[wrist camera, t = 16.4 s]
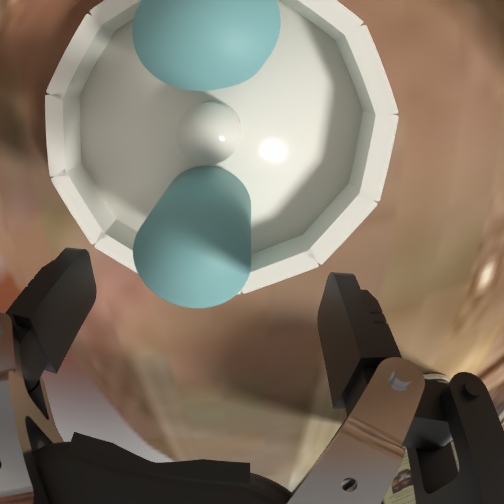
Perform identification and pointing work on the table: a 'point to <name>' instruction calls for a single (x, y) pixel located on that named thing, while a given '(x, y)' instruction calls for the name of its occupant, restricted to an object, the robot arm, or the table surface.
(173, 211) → the bead
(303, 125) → the ring tray
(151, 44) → the bead
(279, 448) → the table surface
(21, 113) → the table surface
